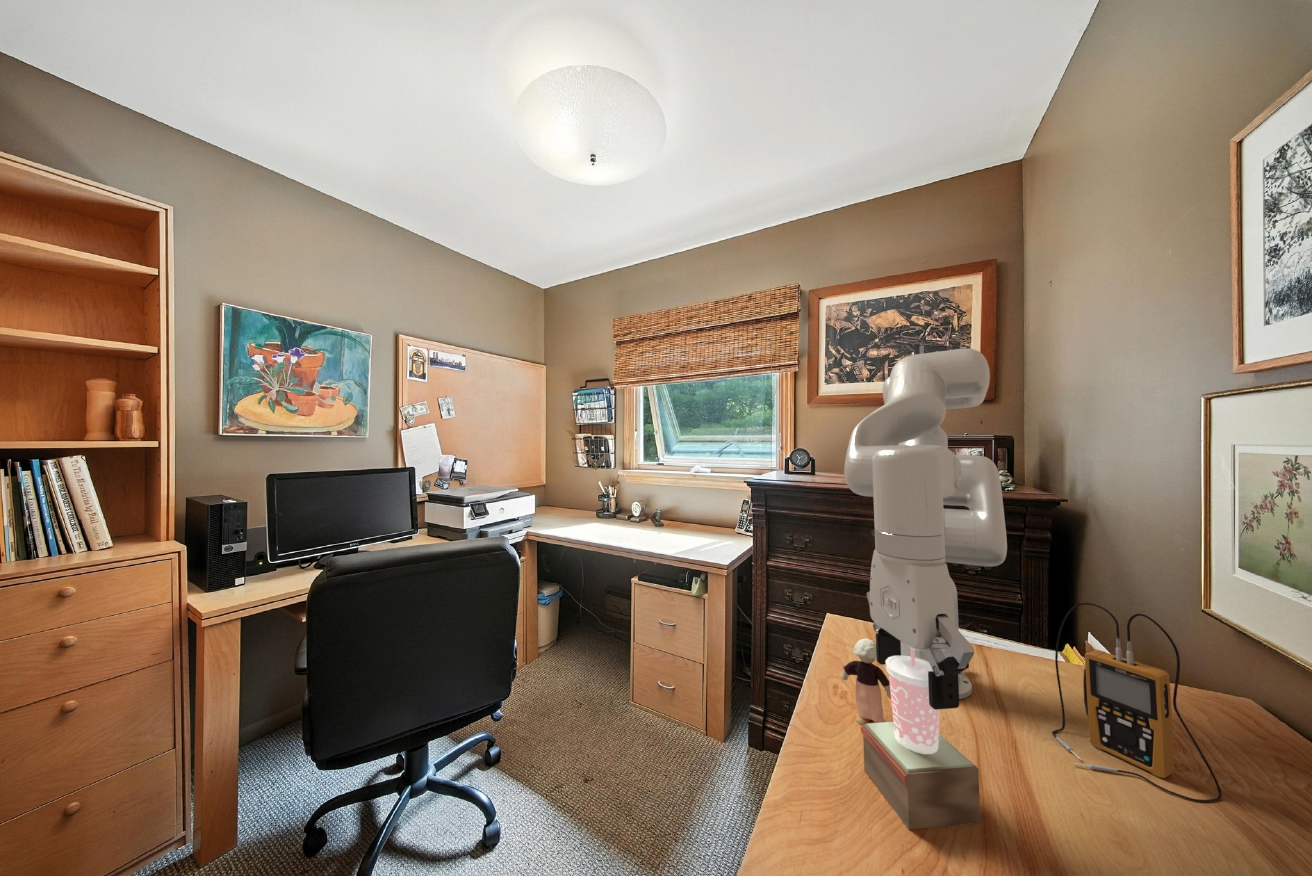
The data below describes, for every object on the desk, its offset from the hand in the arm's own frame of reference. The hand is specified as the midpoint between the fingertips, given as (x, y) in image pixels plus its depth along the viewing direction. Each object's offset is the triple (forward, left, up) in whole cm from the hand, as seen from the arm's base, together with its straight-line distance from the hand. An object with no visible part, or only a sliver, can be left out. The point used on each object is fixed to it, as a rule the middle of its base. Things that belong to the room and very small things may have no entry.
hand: (914, 682), depth 52 cm
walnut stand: (0, 0, -13) cm, 13 cm away
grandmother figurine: (-7, -11, -14) cm, 19 cm away
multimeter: (-27, +11, -14) cm, 32 cm away
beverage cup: (0, 0, -7) cm, 7 cm away
